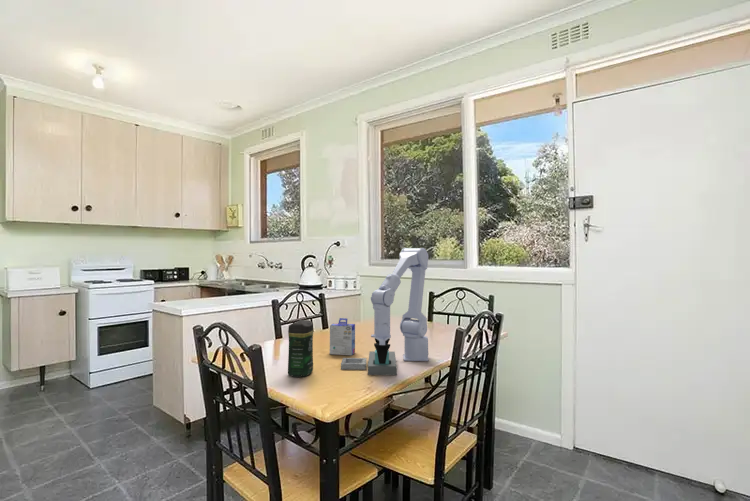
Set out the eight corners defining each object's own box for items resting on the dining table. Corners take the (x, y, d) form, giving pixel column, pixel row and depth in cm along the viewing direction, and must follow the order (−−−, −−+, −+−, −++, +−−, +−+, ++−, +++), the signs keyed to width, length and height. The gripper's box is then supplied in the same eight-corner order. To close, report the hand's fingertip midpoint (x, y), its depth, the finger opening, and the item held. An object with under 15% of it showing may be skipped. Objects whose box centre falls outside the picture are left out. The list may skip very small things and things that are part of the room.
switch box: (394, 359, 159) (394, 351, 159) (396, 375, 139) (396, 365, 139) (369, 358, 159) (369, 350, 159) (367, 374, 139) (367, 365, 139)
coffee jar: (307, 378, 135) (307, 323, 135) (284, 377, 137) (284, 322, 137) (316, 370, 145) (316, 318, 145) (295, 368, 146) (295, 318, 146)
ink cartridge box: (355, 352, 169) (355, 318, 169) (352, 356, 164) (352, 320, 164) (333, 351, 171) (333, 317, 171) (329, 354, 166) (329, 319, 166)
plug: (388, 369, 146) (388, 345, 146) (388, 372, 142) (388, 348, 142) (374, 369, 146) (374, 345, 146) (374, 372, 142) (374, 348, 142)
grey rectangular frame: (366, 363, 154) (366, 358, 153) (365, 369, 146) (365, 364, 145) (342, 363, 154) (342, 357, 154) (340, 369, 146) (340, 363, 146)
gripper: (371, 319, 152) (371, 355, 152) (370, 326, 137) (370, 366, 137) (390, 319, 151) (390, 355, 152) (391, 326, 137) (391, 366, 137)
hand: (382, 360), depth 144 cm, fingers open, 7 cm apart
